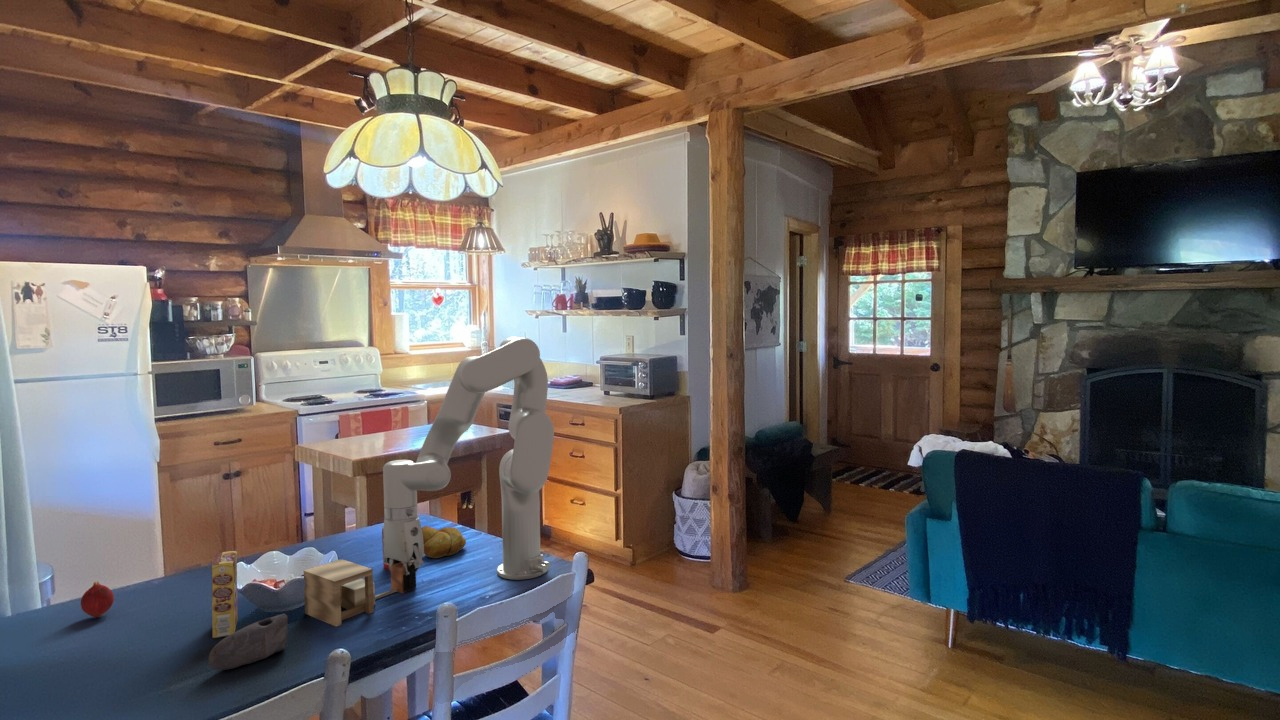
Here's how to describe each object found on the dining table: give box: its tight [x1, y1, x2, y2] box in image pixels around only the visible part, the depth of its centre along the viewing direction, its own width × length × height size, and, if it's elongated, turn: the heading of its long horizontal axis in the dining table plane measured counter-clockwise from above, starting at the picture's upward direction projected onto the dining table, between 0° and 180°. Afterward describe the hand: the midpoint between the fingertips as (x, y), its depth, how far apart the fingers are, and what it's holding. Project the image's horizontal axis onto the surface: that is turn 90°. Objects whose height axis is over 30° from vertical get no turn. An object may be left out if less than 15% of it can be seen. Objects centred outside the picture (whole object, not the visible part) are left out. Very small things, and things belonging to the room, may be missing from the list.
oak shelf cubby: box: [303, 558, 375, 627], centre depth 155 cm, size 12×9×10 cm
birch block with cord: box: [341, 562, 416, 610], centre depth 164 cm, size 5×16×6 cm, turn 145°
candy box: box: [211, 550, 239, 639], centre depth 148 cm, size 9×4×15 cm, turn 26°
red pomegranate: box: [80, 580, 115, 618], centre depth 154 cm, size 6×6×8 cm
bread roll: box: [421, 525, 467, 559], centre depth 195 cm, size 13×10×8 cm
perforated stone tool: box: [207, 613, 289, 671], centre depth 134 cm, size 15×5×7 cm, turn 141°
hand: (403, 586), depth 169 cm, fingers closed on birch block with cord, 4 cm apart
